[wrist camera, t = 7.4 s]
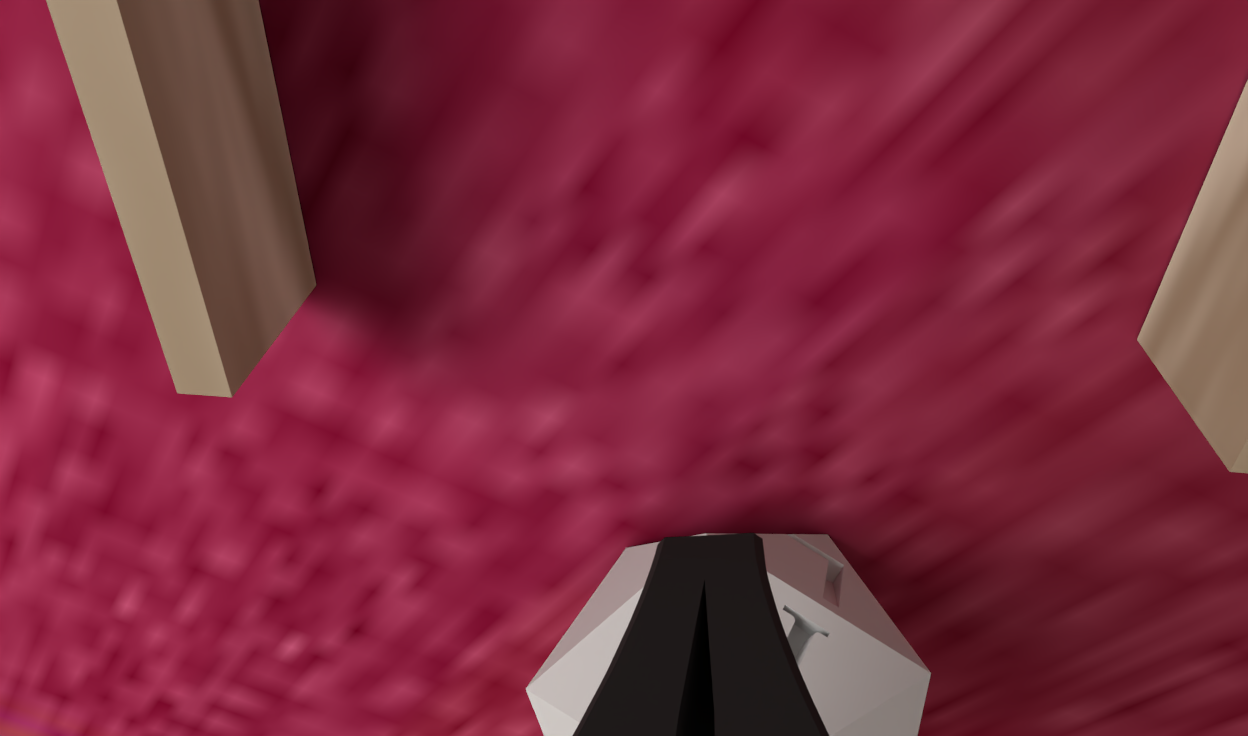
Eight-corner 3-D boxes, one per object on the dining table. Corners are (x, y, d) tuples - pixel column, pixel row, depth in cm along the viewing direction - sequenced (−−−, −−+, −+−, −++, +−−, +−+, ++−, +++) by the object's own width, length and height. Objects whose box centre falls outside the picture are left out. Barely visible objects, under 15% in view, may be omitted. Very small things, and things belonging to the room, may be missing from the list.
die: (959, 602, 24) (1072, 734, 14) (794, 869, 24) (797, 1169, 15) (695, 443, 25) (638, 468, 16) (545, 699, 26) (402, 872, 16)
